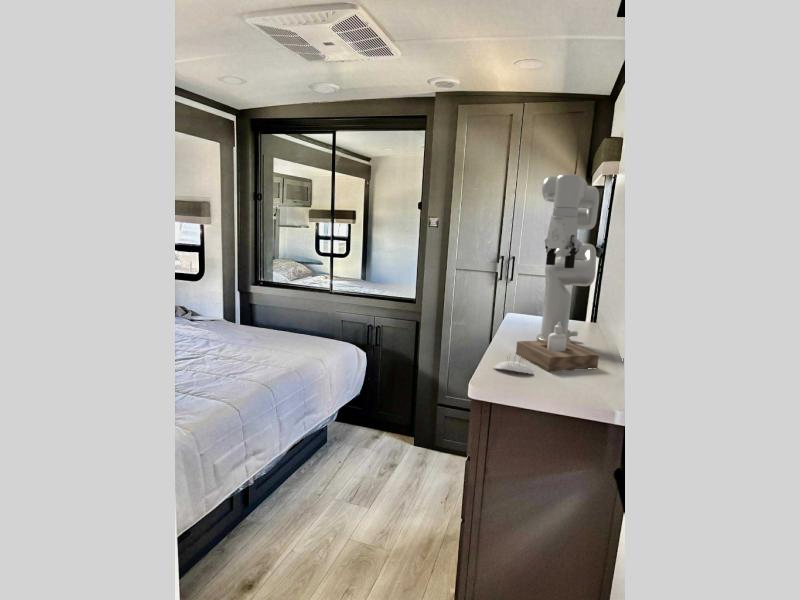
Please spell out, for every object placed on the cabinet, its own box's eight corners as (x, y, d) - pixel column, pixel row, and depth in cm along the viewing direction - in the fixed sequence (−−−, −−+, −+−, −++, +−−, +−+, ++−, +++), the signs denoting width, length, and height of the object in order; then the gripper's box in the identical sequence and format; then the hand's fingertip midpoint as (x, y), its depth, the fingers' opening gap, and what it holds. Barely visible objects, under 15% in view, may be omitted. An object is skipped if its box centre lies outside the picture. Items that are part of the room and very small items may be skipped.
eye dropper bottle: (563, 361, 142) (567, 324, 140) (545, 358, 145) (549, 322, 143) (565, 357, 146) (569, 322, 144) (547, 355, 149) (551, 319, 146)
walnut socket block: (560, 352, 157) (562, 339, 156) (597, 368, 140) (599, 354, 139) (515, 354, 151) (517, 341, 150) (548, 371, 134) (549, 357, 133)
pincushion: (491, 372, 132) (492, 353, 131) (494, 366, 138) (495, 348, 137) (533, 378, 128) (535, 359, 127) (534, 372, 134) (536, 354, 133)
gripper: (539, 213, 152) (534, 263, 155) (573, 213, 135) (566, 269, 138) (558, 214, 154) (552, 264, 157) (593, 214, 138) (586, 269, 141)
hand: (559, 266), depth 148 cm, fingers open, 9 cm apart
